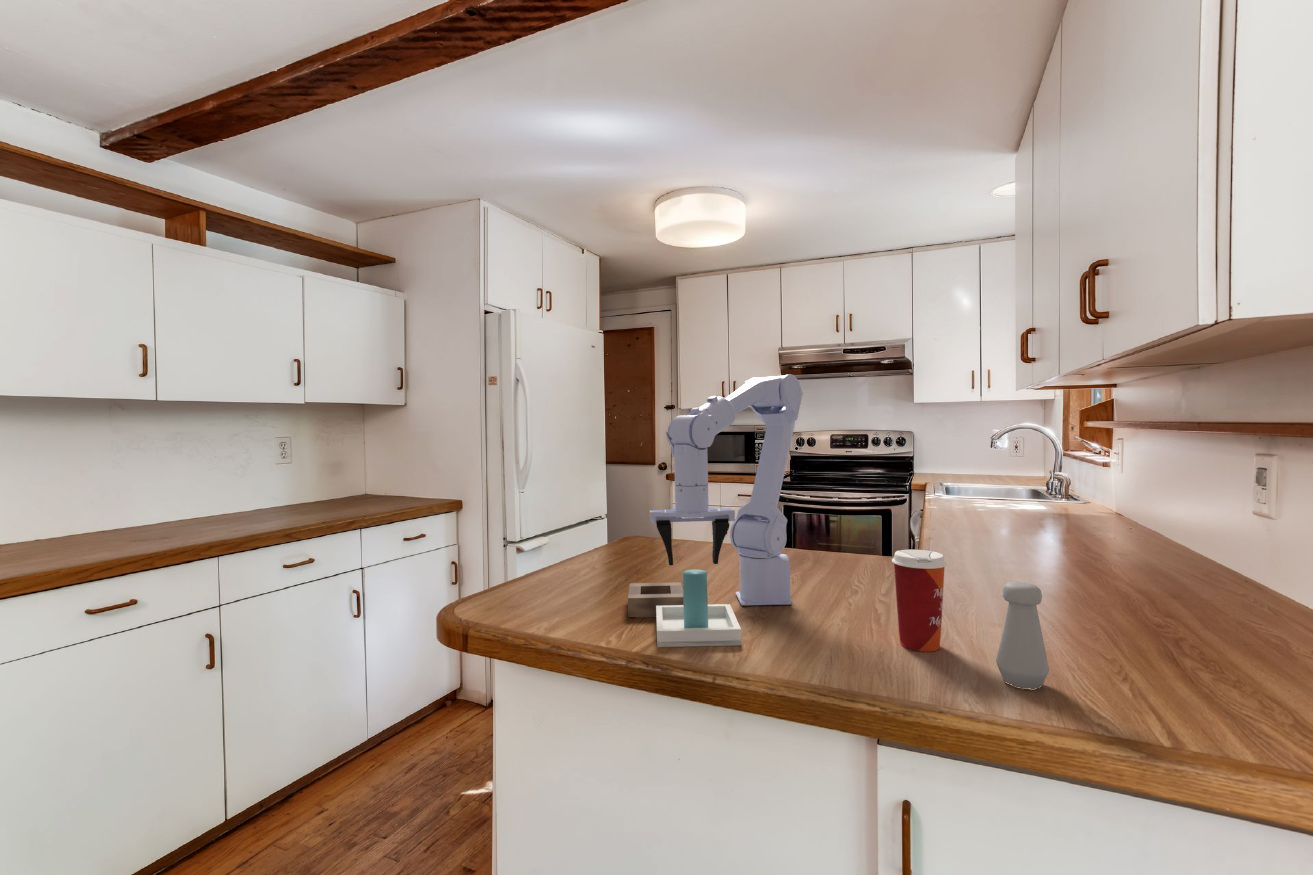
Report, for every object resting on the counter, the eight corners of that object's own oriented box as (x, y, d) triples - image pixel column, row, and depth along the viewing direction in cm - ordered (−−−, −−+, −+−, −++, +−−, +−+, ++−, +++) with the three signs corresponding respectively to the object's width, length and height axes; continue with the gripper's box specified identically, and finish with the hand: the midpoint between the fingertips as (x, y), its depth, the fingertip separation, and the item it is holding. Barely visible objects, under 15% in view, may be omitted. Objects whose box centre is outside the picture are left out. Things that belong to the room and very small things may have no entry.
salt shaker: (986, 675, 80) (986, 578, 80) (1027, 673, 81) (1026, 577, 80) (1016, 694, 74) (1016, 590, 74) (1060, 692, 75) (1059, 588, 75)
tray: (730, 618, 106) (729, 604, 106) (741, 645, 93) (741, 629, 93) (656, 619, 105) (656, 605, 105) (657, 647, 92) (657, 631, 92)
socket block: (681, 600, 117) (681, 582, 117) (684, 616, 107) (683, 597, 107) (630, 601, 117) (629, 583, 117) (628, 617, 107) (627, 598, 107)
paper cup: (954, 656, 87) (953, 560, 87) (897, 653, 88) (896, 558, 88) (939, 637, 94) (939, 548, 94) (888, 634, 96) (887, 547, 96)
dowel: (706, 622, 101) (704, 569, 101) (710, 630, 97) (708, 574, 97) (682, 623, 101) (681, 570, 101) (685, 631, 97) (684, 576, 97)
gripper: (649, 488, 99) (651, 570, 99) (737, 486, 99) (738, 567, 99) (649, 483, 106) (650, 560, 106) (730, 481, 106) (732, 558, 107)
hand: (693, 563), depth 103 cm, fingers open, 7 cm apart
